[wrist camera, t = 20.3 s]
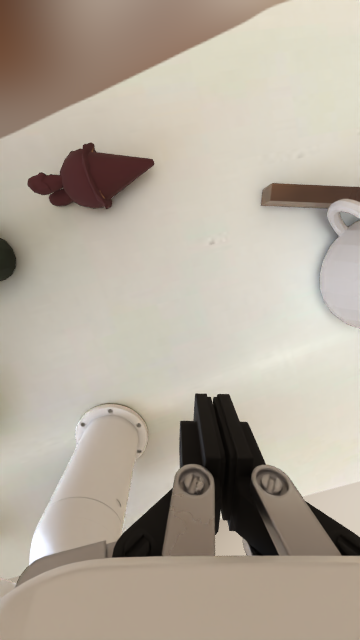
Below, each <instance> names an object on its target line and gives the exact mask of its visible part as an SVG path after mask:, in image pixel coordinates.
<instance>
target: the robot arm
mask: <svg viewBox="0 0 360 640" xmlns="http://www.w3.org/2000/svg"><path fill="white" fill-rule="evenodd" d="M75 437H76V442H77V447H76V449H75V451H74V453H73V455H72V457H71V459H70V461H69V463H68V465H67V467H66V469H65V471H64V473H63V475H62V477H61V479H60V481H59V483H58V485H57V487H56V489H55V491H54V493H53V495H52V497H51V499H50V501H49V503H48V505H47V507H46V509H45V511H44V513H43V515H42V517H41V519H40V521H39V524H38V526H37V528H36V530H35V533H34V536H33V540H32V544H31V550H30V565H29V566H28V567H27V568H26V569H25V570H24V572H23V573H22V574H21V576H20V577H19V579H18V581H17V583H16V582H13V581H9V580H6V579H3V578H0V640H360V537H358V536H357V535H356V534H355V533H353V532H352V531H350V530H348V529H347V528H345V527H344V526H342V525H341V524H339V523H338V522H336V521H335V520H333V519H332V518H330V517H328V516H327V515H326V514H324V513H323V512H321V511H320V510H318V509H316V508H315V507H313V506H312V505H310V504H309V503H307V502H306V501H305V500H304V499H303V497H302V496H301V494H300V493H299V491H298V490H297V488H296V487H295V486H294V484H293V483H292V481H291V480H290V478H289V477H288V476H287V475H286V474H285V473H284V472H283V471H281V470H280V469H278V468H276V467H274V466H270V465H266V464H265V461H264V459H263V457H262V454H261V452H260V450H259V447H258V445H257V443H256V440H255V438H254V436H253V433H252V431H251V429H250V426H249V424H248V423H247V422H240V421H239V419H238V416H237V413H236V411H235V408H234V406H233V403H232V400H231V398H230V395H229V394H218V395H217V397H214V398H213V404H212V400H211V397H207V394H195V405H194V421H180V443H179V452H180V469H179V470H178V471H177V473H176V475H175V478H174V484H173V488H172V489H171V490H170V491H169V492H168V493H167V494H166V495H165V496H164V497H162V498H161V499H160V500H159V501H158V502H157V503H156V504H155V505H154V506H153V507H151V508H150V509H149V510H148V511H147V512H146V513H145V514H144V515H143V516H142V517H141V518H139V519H138V520H137V521H136V522H135V523H134V524H133V525H132V526H131V527H130V528H128V529H127V530H126V531H125V532H124V533H123V534H122V535H121V533H122V527H123V522H124V517H125V511H126V506H127V501H128V495H129V490H130V485H131V479H132V474H133V469H134V463H135V460H136V459H138V458H139V457H140V456H141V455H142V454H143V452H144V450H145V448H146V446H147V441H148V430H147V426H146V424H145V422H144V420H143V419H142V418H141V416H140V415H138V414H137V413H136V412H135V411H133V410H132V409H130V408H128V407H125V406H122V405H118V404H104V405H100V406H96V407H94V408H92V409H90V410H89V411H88V412H86V413H85V414H84V415H83V416H82V418H81V419H80V421H79V423H78V425H77V428H76V433H75ZM220 511H221V513H222V518H223V520H227V521H228V525H229V531H236V532H237V533H238V534H239V535H240V536H241V537H243V546H244V549H245V552H246V555H247V556H215V535H216V534H217V532H218V529H219V520H220Z"/></svg>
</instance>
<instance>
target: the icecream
mask: <svg viewBox="0 0 360 640" xmlns="http://www.w3.org/2000/svg"><path fill="white" fill-rule="evenodd" d="M153 165H154V161H153V159H147V158H139V157H130V156H122V155H114V154H106V153H97V152H96V151H95V148H94V144H93V143H88V144H84V145H83V149H78V150H76V151H71V152H70V153H69V155H68V156H67V157H66V159H65V160H64V163H63V165H62V168H61V170H60V175H52V174H50V175H47V176H46V174H44V173H39V174H38V175H36V176H33V177H31V178H29V179H28V186H29V187H30V188H31V189H32V190H33V191H34V192H35V193H38V194H41V195H48V194H50V196H49V200H50V202H51V203H52V204H53V205H55V206H64V205H68V204H69V203H71V202H75V203H77V204H79V205H81V206H85V207H90V208H101V207H105V208H106V209H108V208H109V207H111V206H112V200H111V198H112V197H113V196H115V195H116V194H117V193H119V192H120V191H121V190H122V189H124V188H125V187H126V186H127V185H129V184H130V183H131V182H133V181H134V180H135V179H136V178H138V177H139V176H140V175H142V174H143V173H144V172H146V171H147V170H148V169H150V168H151V167H152V166H153ZM62 188H64V189H62ZM60 189H61V190H60ZM52 192H54V193H52ZM51 193H52V194H51Z"/></svg>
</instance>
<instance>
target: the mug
mask: <svg viewBox="0 0 360 640" xmlns="http://www.w3.org/2000/svg"><path fill="white" fill-rule="evenodd" d="M340 212H347V213H350V214H352V215H354V216H356V217H358V218H359V219H360V202H358V201H355V200H351V199H341V200H338V201H336V202H334V203H332V204H331V205H330V207H329V209H328V211H327V217H328V220H329V223H330V224H331V226H332V228H333V229H334V230H335V232H336V233H337V234H338V236H339V237H338V238H337V239H336V240H335V241H334V242H333V243H332V245H331V246H330V248H329V250H328V252H327V254H326V256H325V258H324V260H323V264H322V268H321V272H320V290H321V293H322V296H323V300H324V302H325V304H326V305H327V306H328V308H329V309H330V311H331V312H332V313H333V314H334V315H336V316H337V317H338V318H339V319H341V320H342V321H343V322H345V323H346V324H348V325H351V326H354V327H356V328H359V329H360V220H359V221H357V222H355V223H353V224H352V225H351V226H349V227H347V226H346V225H345V224H344V222H343V221H342V219H341V216H340Z"/></svg>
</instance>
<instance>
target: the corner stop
mask: <svg viewBox="0 0 360 640" xmlns="http://www.w3.org/2000/svg"><path fill="white" fill-rule="evenodd" d="M341 199H351V200H355V201H358V202H360V187H343V186H321V185H299V184H277V183H272V184H271V185H269V186H268V187H266V188H265V189H263V192H262V201H261V206H285V207H308V208H329V207H330V205H331V204H332V203H334V202H336V201H338V200H341Z"/></svg>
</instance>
